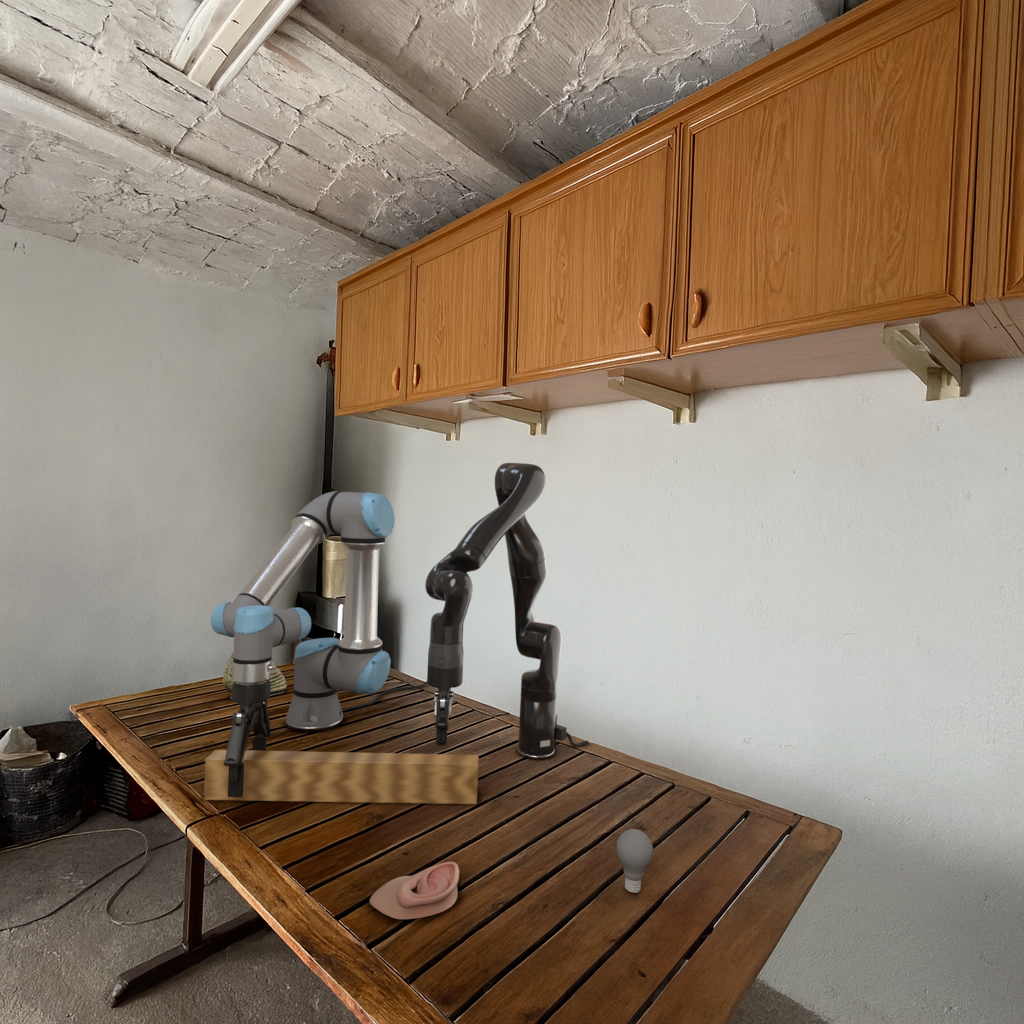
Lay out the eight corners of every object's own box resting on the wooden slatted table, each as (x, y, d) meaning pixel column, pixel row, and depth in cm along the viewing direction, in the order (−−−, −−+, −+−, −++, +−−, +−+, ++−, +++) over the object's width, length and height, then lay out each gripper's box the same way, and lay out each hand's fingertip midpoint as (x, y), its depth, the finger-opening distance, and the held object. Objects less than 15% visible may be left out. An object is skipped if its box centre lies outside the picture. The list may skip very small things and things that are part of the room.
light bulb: (610, 879, 108) (613, 822, 108) (644, 879, 109) (647, 822, 109) (619, 902, 102) (622, 840, 102) (655, 901, 103) (658, 840, 103)
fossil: (218, 695, 195) (220, 647, 195) (278, 685, 208) (279, 640, 207) (228, 703, 189) (230, 653, 188) (289, 692, 201) (290, 645, 201)
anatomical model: (361, 887, 97) (391, 847, 108) (360, 913, 97) (390, 870, 108) (444, 902, 94) (465, 860, 105) (443, 928, 94) (464, 883, 106)
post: (203, 800, 130) (205, 759, 130) (213, 788, 135) (215, 749, 135) (476, 804, 134) (478, 764, 133) (476, 793, 138) (478, 754, 138)
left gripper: (248, 699, 120) (244, 810, 121) (287, 666, 145) (283, 758, 146) (208, 698, 120) (203, 809, 120) (254, 664, 145) (250, 757, 145)
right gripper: (462, 671, 128) (459, 751, 128) (463, 654, 142) (460, 725, 143) (425, 670, 128) (421, 750, 128) (430, 653, 142) (427, 725, 142)
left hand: (247, 781), depth 133 cm, fingers open, 13 cm apart
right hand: (442, 737), depth 135 cm, fingers open, 8 cm apart
